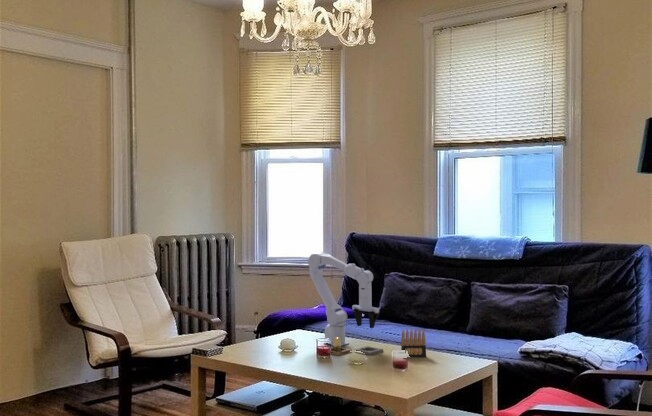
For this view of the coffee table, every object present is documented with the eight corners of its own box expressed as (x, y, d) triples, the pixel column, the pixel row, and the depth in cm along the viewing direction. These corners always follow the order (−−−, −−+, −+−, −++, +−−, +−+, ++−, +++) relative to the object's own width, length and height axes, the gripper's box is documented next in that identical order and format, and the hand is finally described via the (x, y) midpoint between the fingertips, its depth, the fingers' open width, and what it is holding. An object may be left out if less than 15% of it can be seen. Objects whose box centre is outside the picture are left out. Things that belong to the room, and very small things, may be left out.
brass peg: (332, 352, 291) (332, 337, 291) (337, 351, 294) (337, 336, 293) (336, 353, 289) (336, 338, 289) (342, 352, 291) (342, 337, 291)
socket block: (354, 352, 291) (354, 349, 291) (367, 348, 298) (367, 346, 298) (370, 355, 285) (370, 352, 285) (383, 351, 292) (383, 349, 292)
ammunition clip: (425, 356, 283) (425, 328, 283) (426, 357, 281) (426, 329, 281) (400, 356, 283) (400, 328, 282) (401, 357, 281) (401, 329, 281)
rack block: (322, 352, 291) (322, 349, 291) (336, 349, 298) (336, 346, 298) (337, 355, 285) (337, 353, 285) (351, 352, 291) (351, 349, 291)
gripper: (347, 296, 302) (348, 326, 303) (371, 299, 292) (372, 330, 293) (357, 294, 307) (358, 323, 308) (381, 298, 297) (382, 327, 298)
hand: (365, 326), depth 300 cm, fingers open, 7 cm apart
